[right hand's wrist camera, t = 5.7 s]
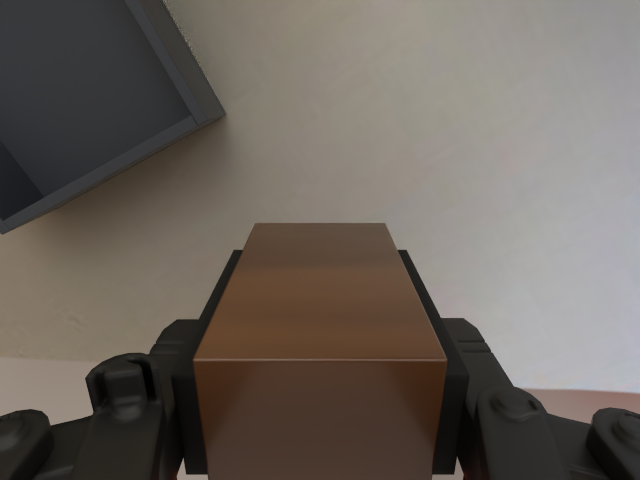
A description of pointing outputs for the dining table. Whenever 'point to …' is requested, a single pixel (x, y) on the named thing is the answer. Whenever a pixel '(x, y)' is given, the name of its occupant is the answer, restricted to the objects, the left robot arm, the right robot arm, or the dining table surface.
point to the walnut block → (320, 361)
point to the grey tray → (89, 97)
